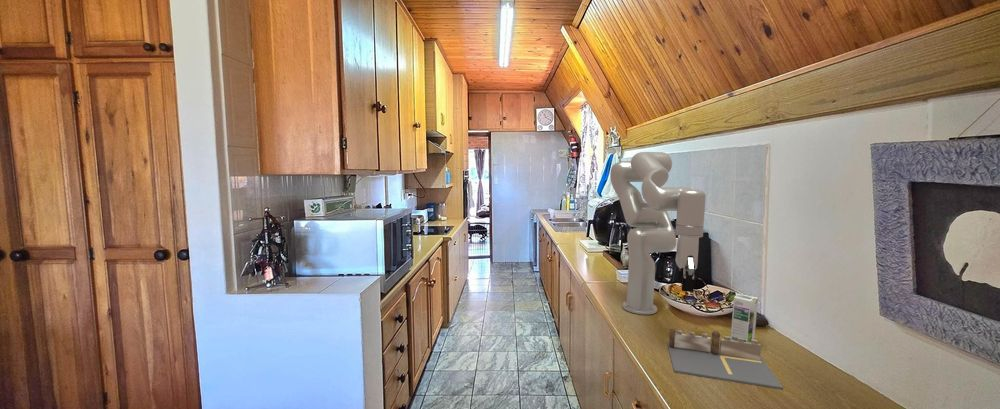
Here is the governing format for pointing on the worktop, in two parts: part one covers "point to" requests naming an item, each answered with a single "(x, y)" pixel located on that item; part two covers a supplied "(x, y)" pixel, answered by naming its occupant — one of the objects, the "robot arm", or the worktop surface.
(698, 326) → the worktop surface
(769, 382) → the card
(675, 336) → the fence gate
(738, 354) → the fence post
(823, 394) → the worktop surface
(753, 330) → the syrup box
